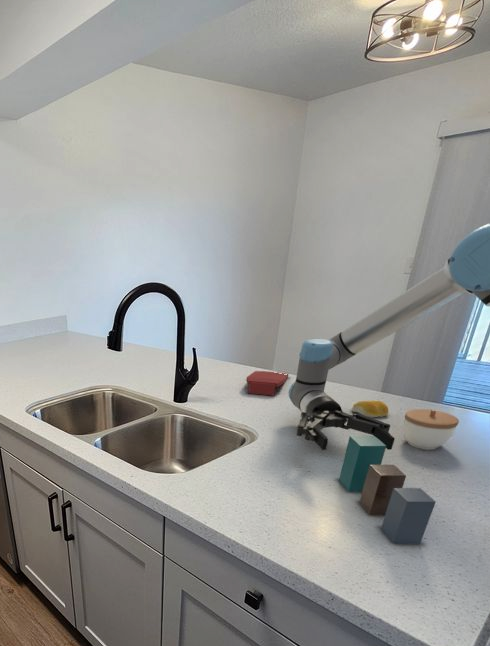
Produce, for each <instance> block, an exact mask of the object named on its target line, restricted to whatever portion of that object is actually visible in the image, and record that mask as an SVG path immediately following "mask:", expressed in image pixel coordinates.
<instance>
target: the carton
mask: <svg viewBox="0 0 490 646" xmlns="http://www.w3.org/2000/svg"><path fill="white" fill-rule="evenodd" d="M274 372H275V371H265V370H255V371H253V372H252V373H250V374H249V375H248V376H246V379H245V380H246V383H247V385H248V394H252V395H261V396H271V397H273V396H274V395H275V389H276V388H278V387H280V386H281V385H283V384H284V383H285V382H286V380H287V379H288V378H289V373H287V372H281V373H282V374H279V373H280V372H278V371H277V373H274ZM284 374H287V375H284Z"/></svg>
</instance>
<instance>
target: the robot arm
mask: <svg viewBox="0 0 490 646" xmlns="http://www.w3.org/2000/svg"><path fill="white" fill-rule="evenodd" d="M472 294H474V295H475V296H476V298H477V299H479V300H480V301H481V303H483V304H484V305H485V306H486V307H490V223H487V224H484V225H482V226H480V227H477V228H476V229H474V230H473V231H472V232H469V234H467V235H466V236H465V237H464V238H463V239H461V241H460V242H459V243H458V244H457V245H456V247H455V248H454V249H453V251H452V253H451V256H450V258H448V259H447V260H446V261H445V264H444V266H443V267H442V268H440V269H439V270H437V271H436V272H434V273H432V274H431V275H429V276H427V277H426V278H425V279H423V280H422V281H420V282H418V283H416V284H415V285H413V286H412V287H410V288H409V289H407V290H406V291H404V292H402V293H400V294H399V295H397V296H396V297H395V298H393V299H391V300H389V301H388V302H386V303H385V304H383V305H381V306H380V307H379V308H377V309H375V310H374V311H371V313H369V314H367V315H366V316H364V317H363V318H361V319H360V320H357V321H356V322H355V323H353V324H352V325H350V326H348V327H347V328H345V329H343V330H342V331H341V332H339V333H337V334H336V335H334V336H333V337H331V338H330V339H325V338H312V339H306V340H305V341H303V342H302V345H301V348H300V352H299V359H298V365H297V372H296V377H295V381H294V382H293V383H292V384H291V386H290V387H289V389H288V398H289V400H290V401H291V403H292V405H293V406H294V407H295V408H297V409H298V410H299V411H300V412H301V413H300V417H299V422H298V424H297V429H296V436H297V437H302V436H304V440H306V441H312V442H314V443H315V445H317V446H318V447H319V448H320V449H321V451H326V450H327V447H328V441H329V438H328V437H327V436H326V434H324V432H322V430H324V429H325V428H337V429H338V428H339V429H343V430H354V431H357V432H360V433H365V434H367V435H370V436H375V437H376V438H378V439H379V440H380V441H381V442H382V443H384V444H385V445H386V449H385V450H388V451H390V450H392V449H393V446H394V442H395V440H396V438H395V437H394V436H393V435H391V433H390V428H391V424H389V423H386V422H384V421H381V420H379V419H375V418H374V417H373V418H370V417H367V416H365V415H362V414H361V413H359V412H352V414H349V413H346V412H344V411H343V409H342V407H341V405H340V403H338V402H337V401H336V400H334V398H333V397H331V396H330V395H329V394H328V393H326V392H325V388H326V383H327V379H328V375H329V370H332V369H333V368H335V367H337V366H339V365H342V363H344V362H346V361H347V360H349V359H350V358H353V357H354V356H356V355H358V354H359V353H361V352H363V351H364V350H366V349H368V348H369V347H370V348H371V346H373V345H375V344H377V343H378V342H380V341H382V340H384V339H385V338H387V337H389V336H391V335H393V334H394V333H396V332H398V331H400V330H402V329H404V328H405V327H407V326H409V325H411V324H412V323H414V322H416V321H417V320H420V319H421V318H423V317H425V316H427V315H428V314H430V313H432V312H433V311H435V310H437V309H438V308H441V307H442V306H444V305H445V304H448V303H449V302H451V301H453V300H455V299H456V298H458V297H460V296H462V295H472ZM309 422H310V424H309Z"/></svg>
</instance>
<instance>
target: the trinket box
mask: <svg viewBox="0 0 490 646" xmlns="http://www.w3.org/2000/svg"><path fill="white" fill-rule="evenodd" d="M459 423H460V420H459V418H458V417H456V416H455V415H453V414H450V413H448V412H444V411H440V410H436V409H425V408H419V409H418V408H417V409H410V410H408V411H405V414H404V418H403V424H402V433H403V437H404V438H405V440H406V441H407V443H408V445H409V446H412V447H414V448H416V449H420V450H429V451H430V450H431V451H432V450H436V449H437V448H439V447H441V446H444V445H445V444H446V443H448V442H449V441H450V439H451V438H452V437H453V436H454V434H455V431H456V429H457V427H458V425H459Z"/></svg>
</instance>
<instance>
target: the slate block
mask: <svg viewBox="0 0 490 646" xmlns="http://www.w3.org/2000/svg"><path fill="white" fill-rule="evenodd" d="M436 503H437V501H436V500H434V499H433V498H432V497H431V496H430V495H429V494H428V493H426V491H425V490H423V489H422V488H421V487H402V488H394V489H393V492H392V495H391V498H390V501H389V504H388V508H387V511H386V514H385V515H384V517H383V520H382V523H381V527H380V529H381V530H382V532H383V533H384V535H386V537H387V538H388V539H389V540H390V542H392V544H405V545H407V544H408V545H409V544H411V545H412V544H413V545H421V542H422V540H423V537H424V535H425V532H426V529H427V526H428V524H429V522H430V520H431V516H432V513H433V511H434V509H435V505H436Z"/></svg>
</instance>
